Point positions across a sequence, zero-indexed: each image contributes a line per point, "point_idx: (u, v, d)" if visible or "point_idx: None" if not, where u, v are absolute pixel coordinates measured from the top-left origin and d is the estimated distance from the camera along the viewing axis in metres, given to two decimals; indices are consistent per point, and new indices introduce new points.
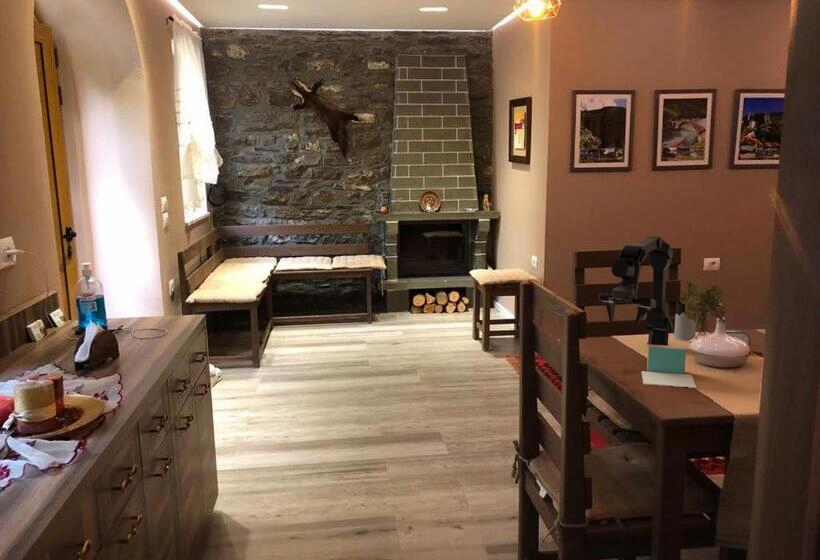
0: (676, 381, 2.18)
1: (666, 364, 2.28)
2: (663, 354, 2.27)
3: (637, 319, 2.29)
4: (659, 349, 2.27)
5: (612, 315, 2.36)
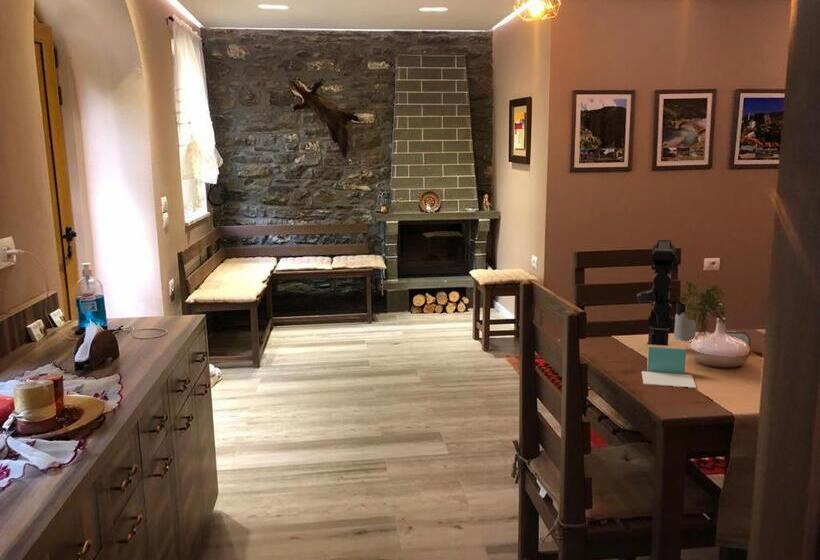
0: (676, 381, 2.18)
1: (666, 364, 2.28)
2: (663, 354, 2.27)
3: (657, 320, 2.42)
4: (659, 349, 2.27)
5: None
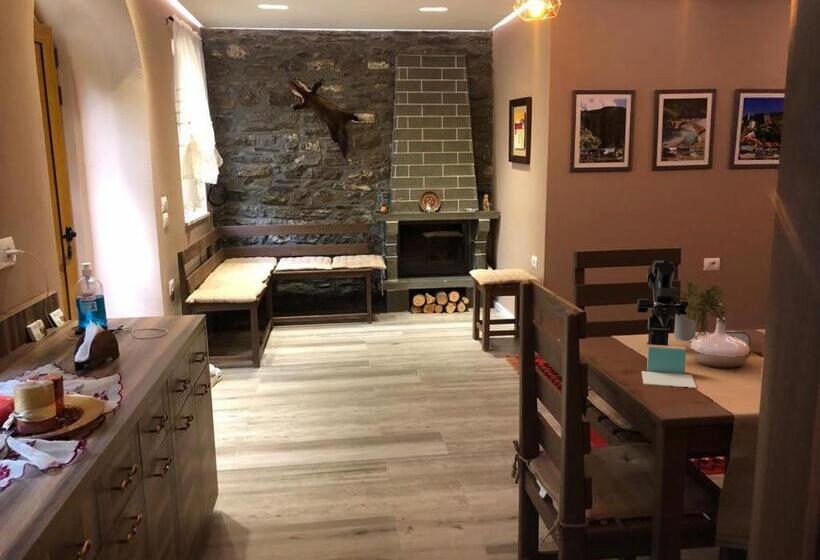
0: (676, 381, 2.18)
1: (666, 364, 2.28)
2: (663, 354, 2.27)
3: (666, 319, 2.40)
4: (659, 349, 2.27)
5: (663, 320, 2.41)
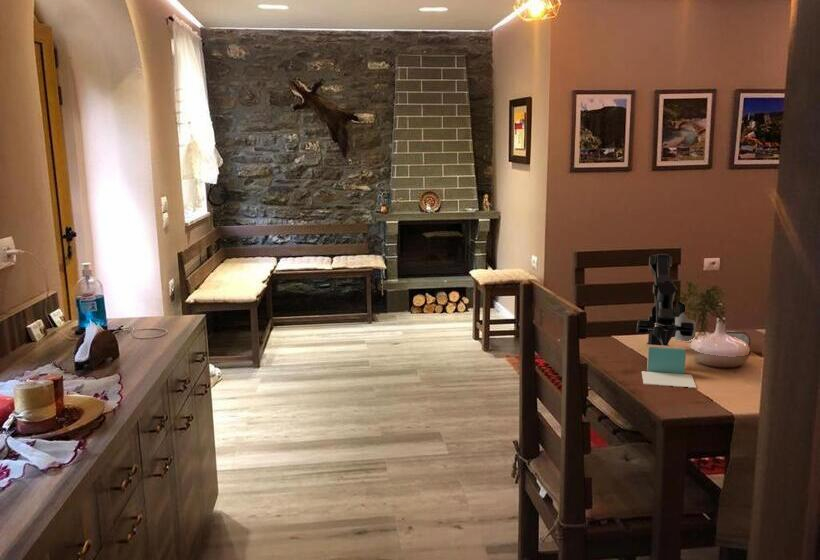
0: (676, 381, 2.18)
1: (666, 364, 2.28)
2: (663, 354, 2.27)
3: (667, 340, 2.34)
4: (659, 349, 2.27)
5: (664, 342, 2.36)
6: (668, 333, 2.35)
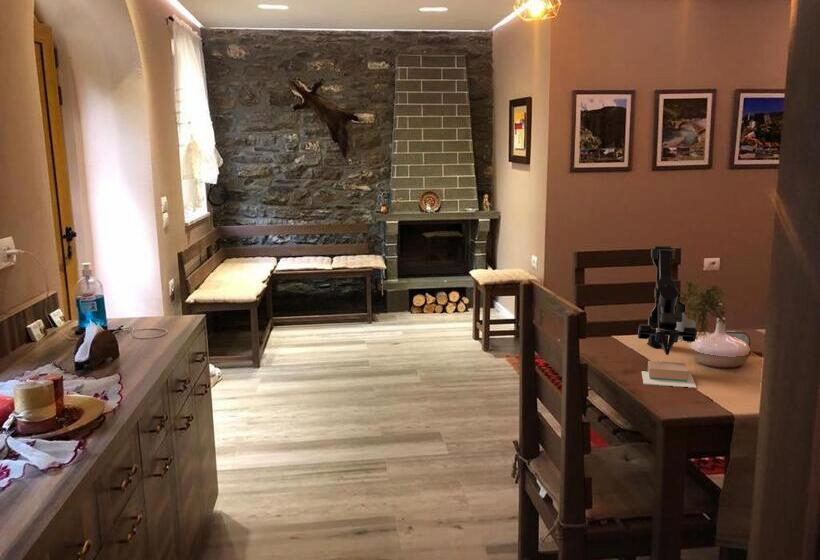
0: (676, 381, 2.18)
1: None
2: None
3: (669, 346, 2.27)
4: None
5: (666, 348, 2.28)
6: (670, 338, 2.28)
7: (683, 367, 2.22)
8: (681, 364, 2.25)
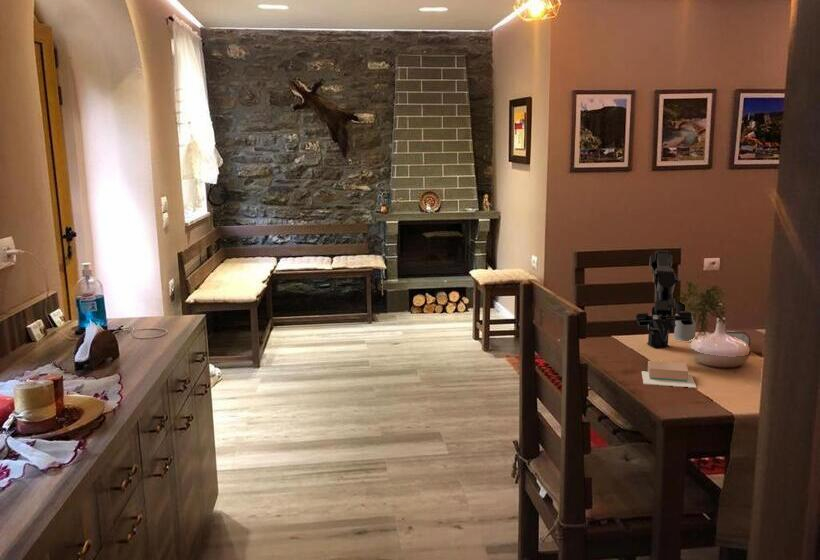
0: (676, 381, 2.18)
1: None
2: None
3: (665, 332, 2.35)
4: None
5: None
6: (666, 324, 2.36)
7: (683, 367, 2.22)
8: (681, 364, 2.25)
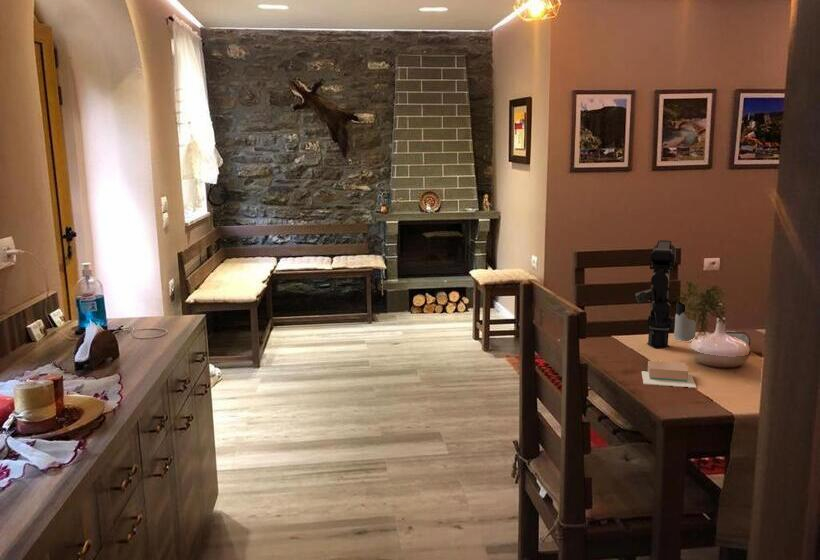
0: (676, 381, 2.18)
1: None
2: None
3: (655, 318, 2.45)
4: None
5: None
6: (654, 311, 2.44)
7: (683, 367, 2.22)
8: (681, 364, 2.25)
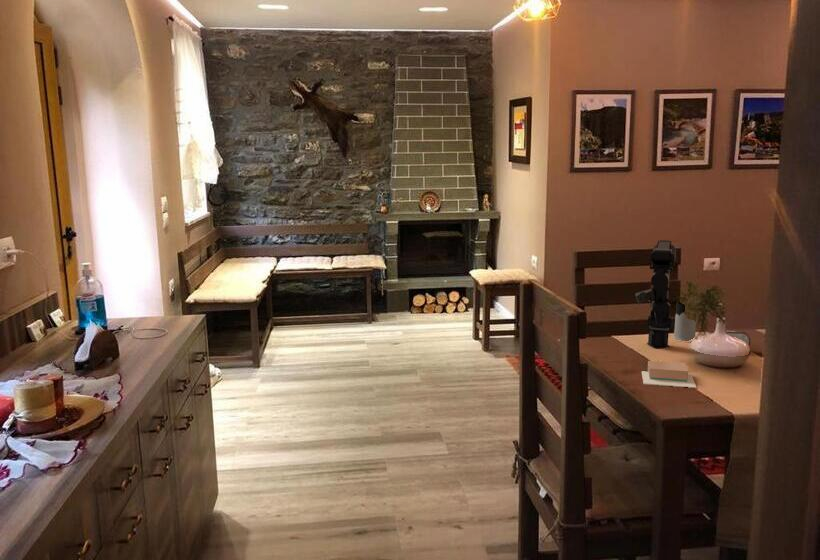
0: (676, 381, 2.18)
1: None
2: None
3: (655, 318, 2.45)
4: None
5: None
6: (654, 311, 2.44)
7: (683, 367, 2.22)
8: (681, 364, 2.25)
